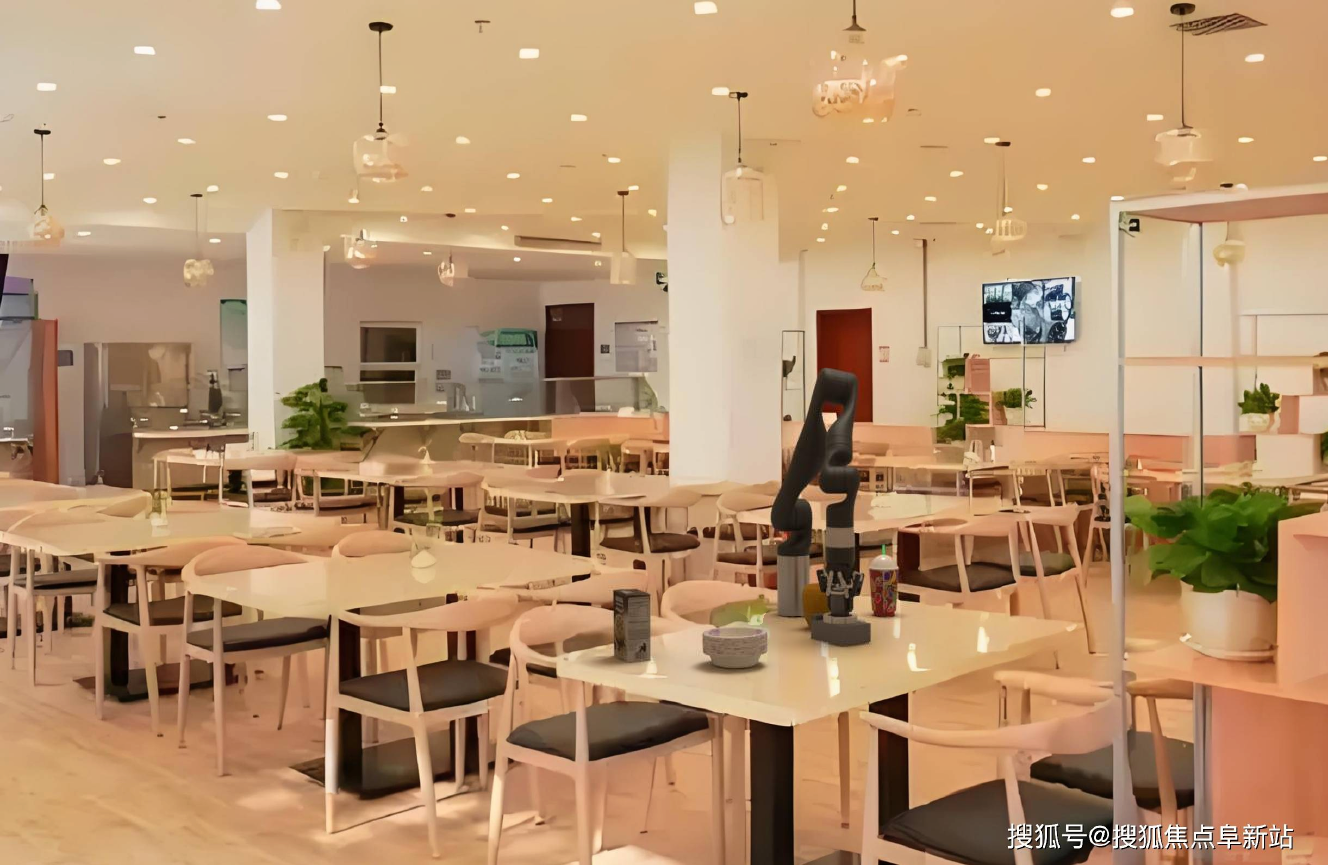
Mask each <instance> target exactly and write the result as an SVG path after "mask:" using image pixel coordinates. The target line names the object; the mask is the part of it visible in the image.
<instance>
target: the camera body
mask: <svg viewBox="0 0 1328 865" xmlns="http://www.w3.org/2000/svg"><path fill="white" fill-rule="evenodd" d="M858 615H859V614H857V613H854V612H849V617H833V616H831V612H829V613H820V614H812V615H811V628H810V639H812V640H815V641H818V640H819V641H820V642H822V641H823V643H826V642H828V643H827V644H830V645H835V646H838V647H842V648H843V647H844V646H845V647H852V646H859V645H858V644H860V645H864V644H865V643H867V644H870V643H869V642H872V640H871V639H872V637H871V633H872V630H871V626H872V624H871V622H867V621H866V619H864V618H859V619H858ZM819 641H818V642H819Z"/></svg>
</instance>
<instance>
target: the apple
mask: <svg viewBox="0 0 1328 865" xmlns="http://www.w3.org/2000/svg"><path fill="white" fill-rule="evenodd" d="M838 587H840V585H838ZM827 604H828V603H827V595H826V594H825V593H824V592H823V593H822V592H821V591H820V586H819V582H818V583H817V582H814V583H813V582H812V583H810V584H808V585H806V586H805V587H804V589H803V592H802V607H803V612H804V616H803V617H804V620H805V622H806V623H807V625H808V626H807V627H808V628H810V629H811V615H812V614H820V613H829V612H831V610H829V608H828V606H827Z"/></svg>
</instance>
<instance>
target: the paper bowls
mask: <svg viewBox="0 0 1328 865" xmlns="http://www.w3.org/2000/svg"><path fill="white" fill-rule="evenodd" d="M702 653H703V654H704V655H706V656H709V658H710V660H711V662H712V663H713V664H714V666H716V667H719V668H723V669H725V668H726V669H745V668H746V669H747V668H751V667H754V666H756V665H757V664H758V662H759V661H760V658H761V656H762V655H764V654H767V653H768V632H767V630H765V629H763V628H760V627H759V628H758V627H751V626H727V627H726V626H725V627H716V628H711V629H707V630H704V631H703V632H702Z"/></svg>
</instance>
